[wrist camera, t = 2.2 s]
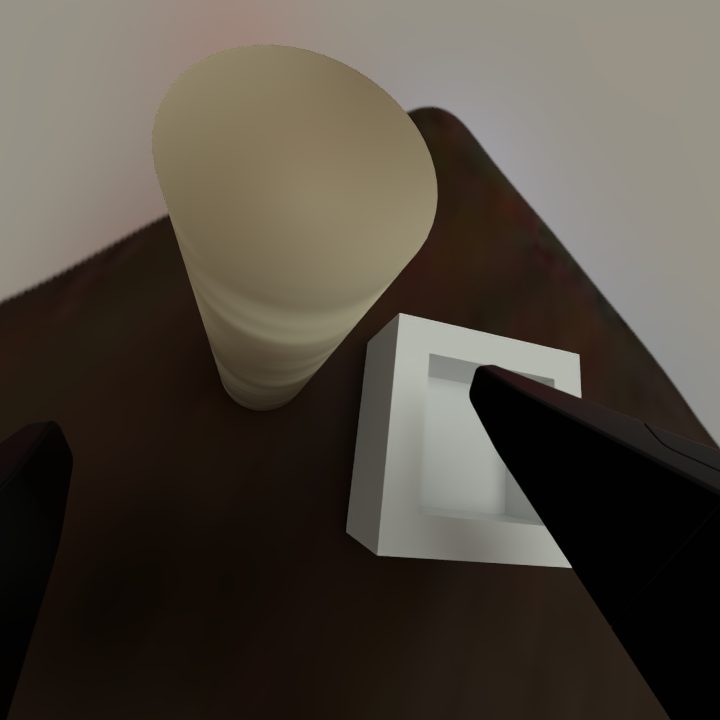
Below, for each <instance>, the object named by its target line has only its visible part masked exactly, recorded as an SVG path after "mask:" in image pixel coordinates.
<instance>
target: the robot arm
mask: <svg viewBox="0 0 720 720" xmlns="http://www.w3.org/2000/svg"><path fill="white" fill-rule="evenodd" d="M469 399H470V402H471V404H472V406H473V408H474V409H475V411H476V413H477V415H478V417H479V419H480V421H481V423H482V425H483V427H484V429H485V431H486V433H487V435H488V436H489V438H490V440H491V442H492V444H493V446H494V448H495V449H496V451H497V453H498V454H499V456H500V458H501V459H502V461H503V462H504V464H505V465H506V467H507V468H508V470H509V471H510V473H511V474H512V476H513V478H514V479H515V481H516V482H517V484H518V485H519V487H520V488H521V490H522V491H523V493H524V494H525V496H526V498H527V499H528V501H529V502H530V504H531V505H532V507H533V508H534V510H535V511H536V513H537V514H538V516H539V517H540V519H541V521H542V522H543V524H544V525H545V527H546V528H547V530H548V531H549V533H550V534H551V536H552V537H553V539H554V541H555V542H556V544H557V545H558V547H559V548H560V550H561V551H562V553H563V554H564V556H565V557H566V559H567V560H568V562H569V564H570V565H571V567H572V568H573V570H574V571H575V573H576V574H577V576H578V577H579V579H580V580H581V582H582V583H583V585H584V587H585V588H586V590H587V591H588V593H589V594H590V596H591V597H592V599H593V600H594V602H595V603H596V605H597V607H598V608H599V610H600V611H601V613H602V614H603V616H604V617H605V619H606V620H607V622H608V623H609V625H610V626H611V628H612V630H613V632H614V633H615V635H616V636H617V638H618V639H619V641H620V642H621V644H622V645H623V647H624V648H625V650H626V652H627V653H628V655H629V656H630V658H631V659H632V661H633V662H634V664H635V665H636V667H637V668H638V670H639V672H640V673H641V675H642V676H643V678H644V679H645V681H646V682H647V684H648V685H649V687H650V688H651V690H652V692H653V693H654V695H655V696H656V698H657V699H658V701H659V702H660V704H661V705H662V707H663V708H664V710H665V712H666V713H667V715H668V716H669V718H670V719H671V720H720V450H717V449H714V448H711V447H709V446H706V445H703V444H700V443H697V442H694V441H692V440H689V439H686V438H683V437H681V436H678V435H675V434H673V433H670V432H667V431H665V430H662V429H659V428H657V427H654V426H652V425H649V424H647V423H642V422H641V421H639V420H636V419H633V418H631V417H628V416H626V415H623V414H620V413H618V412H615V411H613V410H610V409H608V408H605V407H602V406H600V405H597V404H595V403H592V402H589V401H587V400H584V399H582V398H579V397H576V396H574V395H571V394H569V393H566V392H564V391H561V390H558V389H556V388H553V387H551V386H548V385H545V384H543V383H540V382H538V381H535V380H532V379H530V378H527V377H525V376H522V375H519V374H517V373H514V372H512V371H509V370H507V369H504V368H501V367H499V366H496V365H492V364H491V365H483V366H479V367H478V368H477V369H476V370H475V373H474V376H473V380H472V383H471V387H470V390H469ZM72 467H73V456H72V452H71V450H70V448H69V445H68V443H67V441H66V439H65V436H64V434H63V432H62V430H61V428H60V426H59V424H58V423H57V422H54V421H46V422H38V423H31V424H27V425H25V426H23V427H22V428H20V429H19V430H17V431H16V432H15V433H13V434H12V435H10V436H9V437H7V438H6V439H5V440H3V441H2V442H0V720H6V719H7V716H8V712H9V709H10V706H11V703H12V699H13V696H14V693H15V689H16V686H17V683H18V679H19V676H20V673H21V670H22V666H23V663H24V660H25V656H26V653H27V650H28V646H29V643H30V640H31V636H32V633H33V630H34V627H35V623H36V620H37V617H38V613H39V610H40V607H41V603H42V600H43V597H44V594H45V590H46V587H47V584H48V580H49V577H50V574H51V570H52V567H53V564H54V560H55V557H56V554H57V550H58V546H59V543H60V538H61V533H62V527H63V521H64V515H65V509H66V503H67V497H68V491H69V485H70V479H71V473H72Z"/></svg>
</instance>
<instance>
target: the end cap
mask: <svg viewBox="0 0 720 720" xmlns="http://www.w3.org/2000/svg"><path fill="white" fill-rule="evenodd" d="M491 364H492V365H496V366H499V367H501V368H504V369H507V370H509V371H512V372H514V373H517V374H519V375H522V376H525V377H527V378H530V379H532V380H535V381H538V382H540V383H543V384H545V385H548V386H551V387H553V388H556V389H558V390H561V391H564V392H566V393H569V394H571V395H574V396H576V397H579V398H581V383H580V362H579V354H575V353H570V352H566V351H562V350H557V349H553V348H549V347H545V346H540V345H536V344H532V343H527V342H523V341H519V340H514V339H510V338H506V337H501V336H497V335H493V334H488V333H484V332H480V331H475V330H471V329H467V328H463V327H458V326H454V325H450V324H445V323H441V322H437V321H432V320H428V319H424V318H419V317H415V316H411V315H406V314H402V313H399V314H398V315H397V316H396V317H395V318H394V319H393V320H392V321H390V322H389V323H388V324H387V325H386V326H385V327H384V328H383V329H382V330H381V331H380V332H379V333H377V334H376V335H375V336H374V337H373V338H372V339H371V340H370V341H369V342H368V345H367V354H366V362H365V371H364V380H363V388H362V397H361V405H360V414H359V423H358V431H357V440H356V449H355V457H354V466H353V475H352V483H351V492H350V501H349V509H348V518H347V527H346V532H347V533H348V534H349V535H351V536H352V537H353V538H355V539H356V540H357V541H359V542H360V543H361V544H363V545H364V546H365V547H367V548H368V549H369V550H371V551H372V552H373V553H375V554H376V555H378V556H394V557H410V558H426V559H442V560H458V561H473V562H489V563H505V564H521V565H537V566H553V567H569V568H572V567H571V565H570V564H569V562H568V560H567V559H566V557H565V556H564V554H563V553H562V551H561V550H560V548H559V547H558V545H557V544H556V542H555V541H554V539H553V537H552V536H551V534H550V533H549V531H548V530H547V528H546V527H545V525H544V524H543V522H542V521H541V519H540V517H539V516H538V514H537V513H536V511H535V510H534V508H533V507H532V505H531V504H530V502H529V501H528V499H527V498H526V496H525V494H524V493H523V491H522V490H521V488H520V487H519V485H518V484H517V482H516V481H515V479H514V478H513V476H512V474H511V473H510V471H509V470H508V468H507V467H506V465H505V464H504V462H503V461H502V459H501V458H500V456H499V454H498V453H497V451H496V449H495V448H494V446H493V444H492V442H491V440H490V438H489V436H488V435H487V433H486V431H485V429H484V427H483V425H482V423H481V421H480V419H479V417H478V415H477V413H476V411H475V409H474V408H473V406H472V404H471V402H470V399H469V390H470V387H471V383H472V380H473V376H474V373H475V370H476V369H477V368H478V367H479V366H483V365H491Z"/></svg>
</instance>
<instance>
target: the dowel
mask: <svg viewBox="0 0 720 720" xmlns="http://www.w3.org/2000/svg"><path fill="white" fill-rule="evenodd" d="M152 153H153V159H154V165H155V170H156V173H157V177H158V180H159V183H160V186H161V189H162V192H163V196H164V199H165V202H166V205H167V208H168V212H169V215H170V218H171V221H172V224H173V228H174V231H175V234H176V237H177V240H178V244H179V247H180V250H181V253H182V256H183V259H184V263H185V266H186V269H187V272H188V275H189V279H190V282H191V285H192V288H193V291H194V295H195V298H196V301H197V304H198V307H199V311H200V314H201V317H202V320H203V323H204V326H205V330H206V333H207V336H208V339H209V342H210V346H211V349H212V352H213V355H214V358H215V362H216V365H217V368H218V371H219V374H220V377H221V381H222V384H223V386H224V388H225V390H226V392H227V393H228V395H229V396H230V397H231V398H232V399H233V400H234V401H235V402H237V403H238V404H240V405H241V406H243V407H246V408H248V409H251V410H257V411H269V410H274V409H277V408H280V407H282V406H284V405H286V404H287V403H289V402H290V401H291V400H292V399H293V398H294V397H295V396H296V395H297V394H298V393H299V391H300V390H301V389H302V388H303V387H304V385H305V384H306V383H307V382H308V381H309V380H310V378H311V377H312V376H313V375H314V374H315V372H316V371H317V370H318V369H319V368H320V367H321V365H322V364H323V363H324V362H325V361H326V359H327V358H328V357H329V356H330V355H331V354H332V352H333V351H334V350H335V349H336V348H337V347H338V345H339V344H340V343H341V342H342V341H343V339H344V338H345V337H346V336H347V335H348V334H349V332H350V331H351V330H352V329H353V328H354V326H355V325H356V324H357V323H358V322H359V321H360V319H361V318H362V317H363V316H364V315H365V313H366V312H367V311H368V310H369V309H370V308H371V306H372V305H373V304H374V303H375V302H376V300H377V299H378V298H379V297H380V296H381V295H382V293H383V292H384V291H385V290H386V289H387V287H388V286H389V285H390V284H391V283H392V282H393V280H394V279H395V278H396V277H397V276H398V274H399V273H400V272H401V271H402V270H403V269H404V267H405V266H406V265H407V264H408V263H409V261H410V260H411V259H412V258H413V257H414V256H415V254H416V253H417V252H418V251H419V249H420V248H421V246H422V245H423V243H424V242H425V240H426V238H427V236H428V234H429V232H430V229H431V227H432V225H433V221H434V217H435V213H436V206H437V181H436V175H435V169H434V166H433V162H432V159H431V156H430V153H429V151H428V148H427V146H426V144H425V141H424V139H423V138H422V136H421V134H420V132H419V131H418V129H417V127H416V126H415V124H414V123H413V121H412V120H411V119H410V117H409V116H408V115H407V113H406V112H405V111H404V110H403V109H402V108H401V106H400V105H399V104H398V103H397V102H396V101H395V100H394V99H393V98H392V97H391V96H390V95H389V94H388V93H387V92H386V91H385V90H383V89H382V88H381V87H379V86H378V85H377V84H376V83H374V82H373V81H372V80H371V79H369V78H368V77H366V76H364V75H363V74H361V73H360V72H358V71H357V70H355V69H353V68H351V67H349V66H347V65H345V64H344V63H341V62H339V61H337V60H335V59H332V58H330V57H327V56H325V55H322V54H318V53H315V52H312V51H309V50H305V49H300V48H295V47H289V46H280V45H251V46H242V47H237V48H232V49H228V50H224V51H221V52H219V53H216V54H213V55H211V56H208V57H206V58H205V59H203V60H201V61H199V62H198V63H196V64H194V65H193V66H191V67H190V68H189V69H188V70H186V71H185V72H184V73H183V74H181V75H180V76H179V77H178V79H177V80H176V81H175V82H174V83H173V84H172V85H171V87H170V88H169V89H168V91H167V93H166V94H165V96H164V98H163V99H162V101H161V103H160V106H159V109H158V111H157V114H156V116H155V122H154V127H153V132H152Z"/></svg>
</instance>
